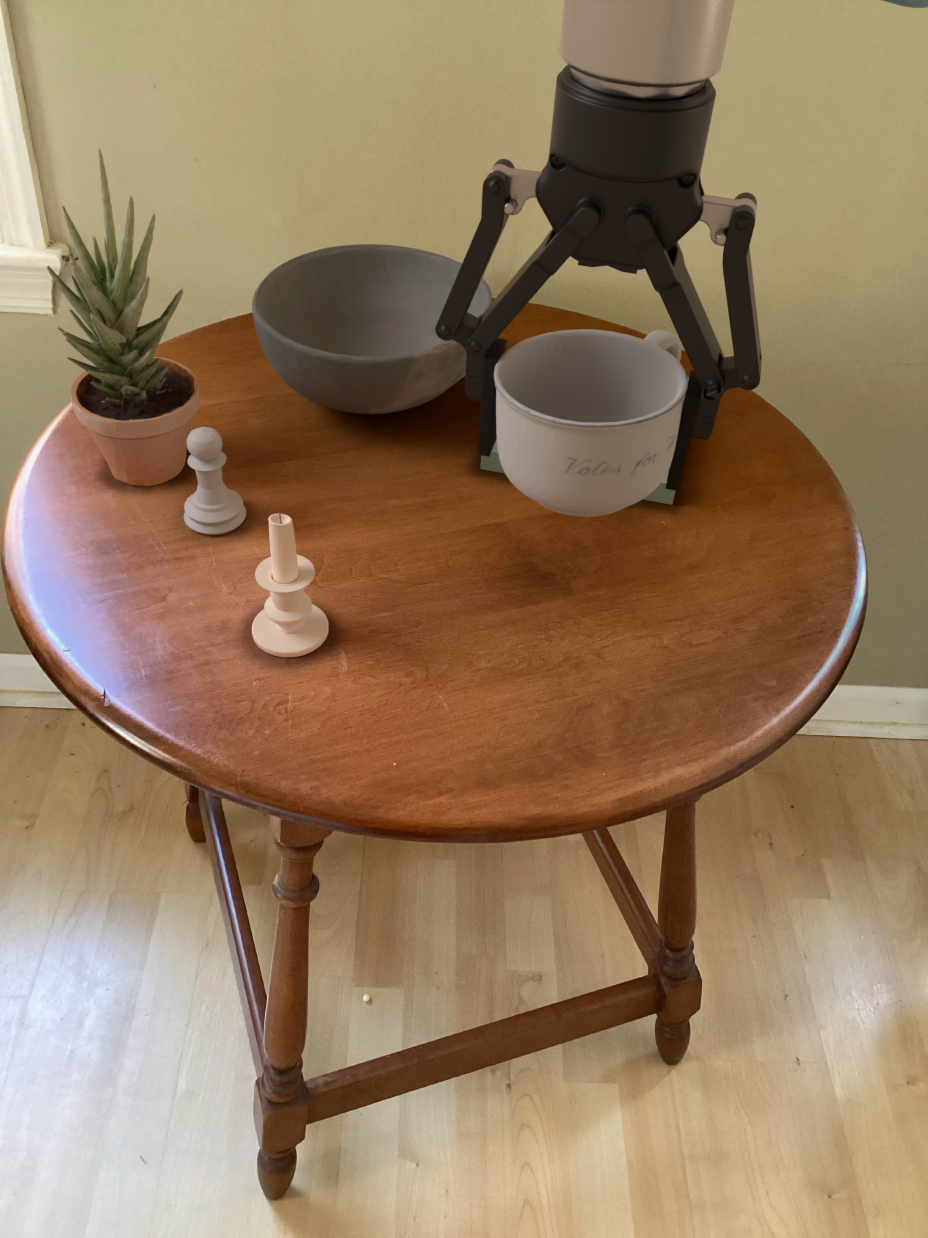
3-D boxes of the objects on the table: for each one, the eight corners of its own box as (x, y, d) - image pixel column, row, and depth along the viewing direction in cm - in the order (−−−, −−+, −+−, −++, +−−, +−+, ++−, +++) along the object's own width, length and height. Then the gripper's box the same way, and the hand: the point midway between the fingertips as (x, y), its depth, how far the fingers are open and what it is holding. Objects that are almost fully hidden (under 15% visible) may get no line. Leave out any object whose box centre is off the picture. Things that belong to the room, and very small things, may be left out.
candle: (286, 595, 75) (274, 476, 67) (344, 625, 73) (338, 506, 65) (236, 636, 71) (218, 516, 64) (295, 669, 69) (284, 549, 62)
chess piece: (255, 527, 80) (244, 439, 74) (194, 543, 78) (179, 454, 73) (235, 493, 83) (224, 406, 77) (176, 507, 81) (160, 420, 76)
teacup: (566, 565, 58) (583, 444, 53) (451, 469, 64) (456, 352, 59) (737, 483, 64) (768, 367, 59) (618, 403, 71) (636, 292, 65)
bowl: (371, 315, 105) (369, 217, 98) (530, 393, 96) (541, 290, 89) (213, 391, 93) (198, 286, 86) (377, 487, 84) (375, 378, 77)
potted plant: (220, 486, 83) (176, 172, 66) (98, 509, 81) (18, 188, 63) (195, 420, 90) (149, 119, 73) (81, 439, 87) (5, 131, 70)
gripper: (890, 78, 50) (774, 459, 65) (419, 20, 53) (413, 396, 68) (899, 130, 44) (770, 532, 60) (375, 63, 48) (379, 460, 63)
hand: (579, 460), depth 64 cm, fingers closed on teacup, 11 cm apart
